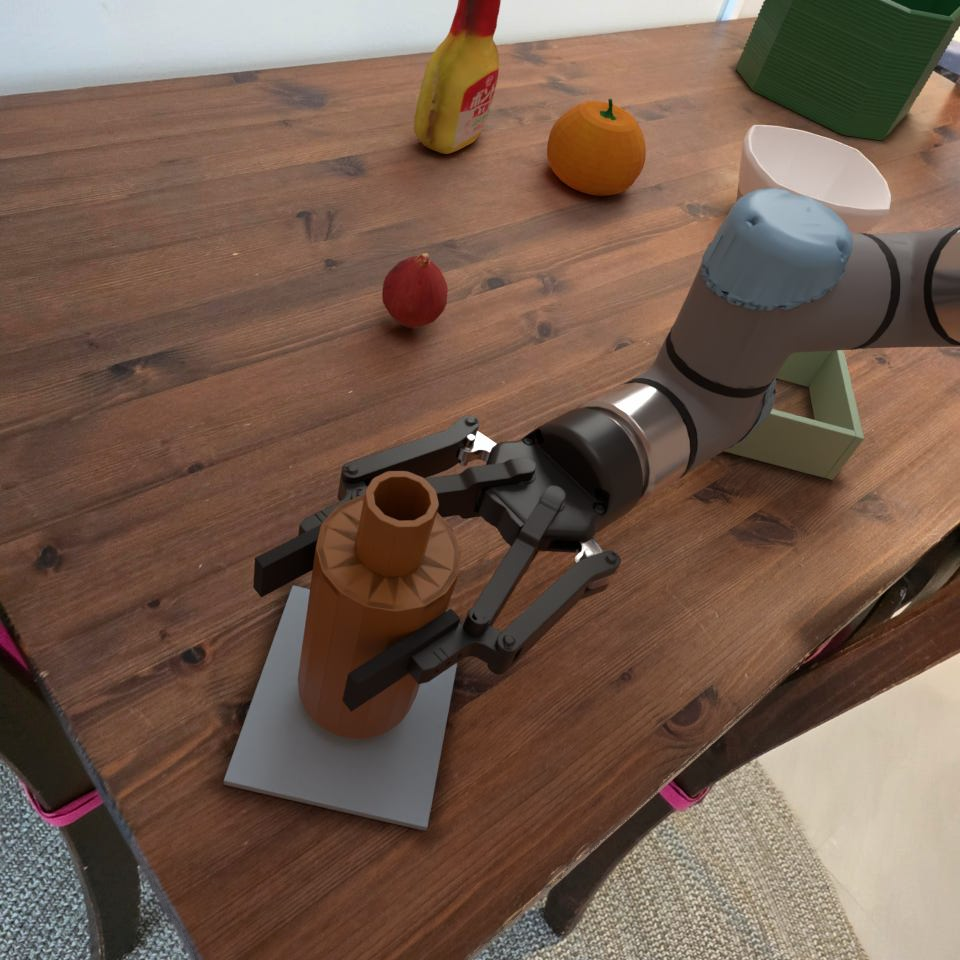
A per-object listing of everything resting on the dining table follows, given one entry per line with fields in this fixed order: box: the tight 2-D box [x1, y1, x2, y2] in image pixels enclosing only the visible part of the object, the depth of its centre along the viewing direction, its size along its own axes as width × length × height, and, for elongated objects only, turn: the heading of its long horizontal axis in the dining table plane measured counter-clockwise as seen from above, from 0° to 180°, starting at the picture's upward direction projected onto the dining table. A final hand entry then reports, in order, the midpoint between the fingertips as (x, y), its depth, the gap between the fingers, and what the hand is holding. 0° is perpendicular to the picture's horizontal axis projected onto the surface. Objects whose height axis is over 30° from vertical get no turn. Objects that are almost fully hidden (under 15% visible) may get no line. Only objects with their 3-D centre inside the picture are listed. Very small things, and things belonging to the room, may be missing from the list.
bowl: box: [735, 124, 892, 234], centre depth 106 cm, size 18×18×9 cm
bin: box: [723, 350, 865, 481], centre depth 83 cm, size 14×14×6 cm
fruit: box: [546, 98, 647, 197], centre depth 104 cm, size 12×12×10 cm
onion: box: [381, 252, 449, 329], centre depth 79 cm, size 6×6×8 cm
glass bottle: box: [298, 471, 462, 739], centre depth 48 cm, size 7×7×18 cm
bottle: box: [413, 0, 502, 155], centre depth 99 cm, size 12×6×20 cm, turn 141°
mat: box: [223, 585, 458, 832], centre depth 56 cm, size 14×12×1 cm
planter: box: [735, 0, 960, 141], centre depth 137 cm, size 26×26×18 cm
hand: (302, 633), depth 44 cm, fingers closed on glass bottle, 7 cm apart
